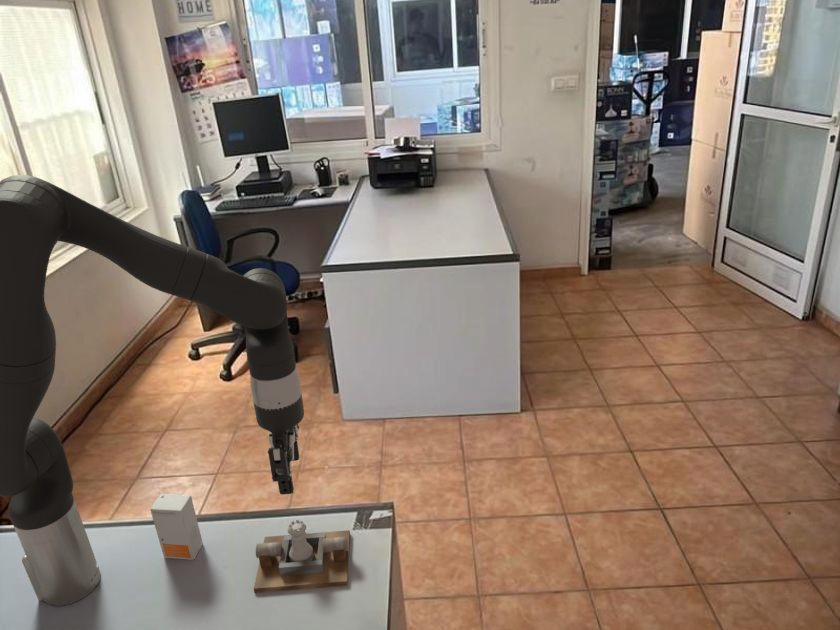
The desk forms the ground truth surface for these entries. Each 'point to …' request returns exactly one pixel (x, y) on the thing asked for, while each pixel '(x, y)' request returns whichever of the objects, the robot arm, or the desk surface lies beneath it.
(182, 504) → the skincare box
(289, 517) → the desk surface
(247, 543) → the desk surface
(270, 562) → the frame on base plate
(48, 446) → the robot arm
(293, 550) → the rook chess piece
